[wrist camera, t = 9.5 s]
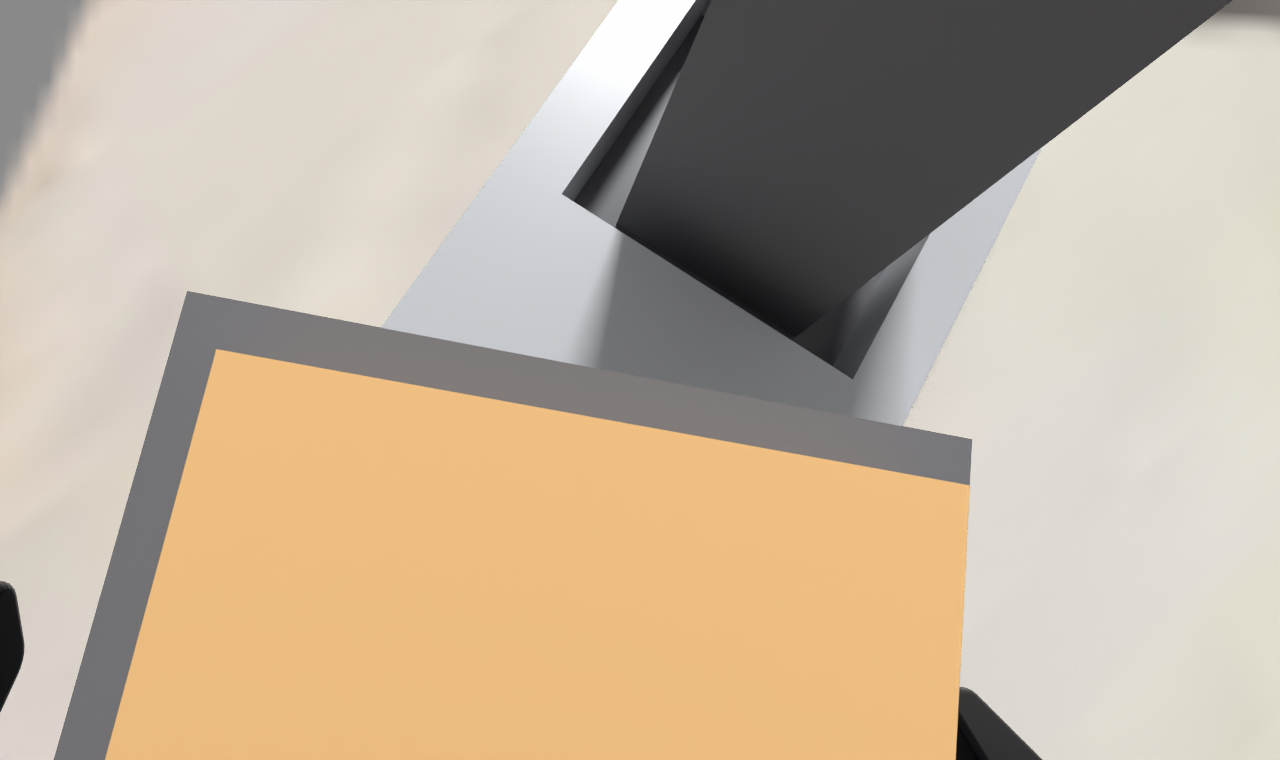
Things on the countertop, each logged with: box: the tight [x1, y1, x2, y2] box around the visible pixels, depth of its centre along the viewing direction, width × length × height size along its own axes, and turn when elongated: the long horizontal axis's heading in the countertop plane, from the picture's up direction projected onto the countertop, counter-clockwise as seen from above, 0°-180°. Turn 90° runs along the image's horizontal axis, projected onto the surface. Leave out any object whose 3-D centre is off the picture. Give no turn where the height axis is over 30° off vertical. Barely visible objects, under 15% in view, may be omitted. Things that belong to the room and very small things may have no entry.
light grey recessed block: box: [381, 0, 1041, 426], centre depth 18 cm, size 22×9×2 cm, turn 149°
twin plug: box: [617, 0, 1232, 337], centre depth 14 cm, size 4×4×14 cm
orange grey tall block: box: [54, 291, 972, 760], centre depth 10 cm, size 4×4×14 cm
